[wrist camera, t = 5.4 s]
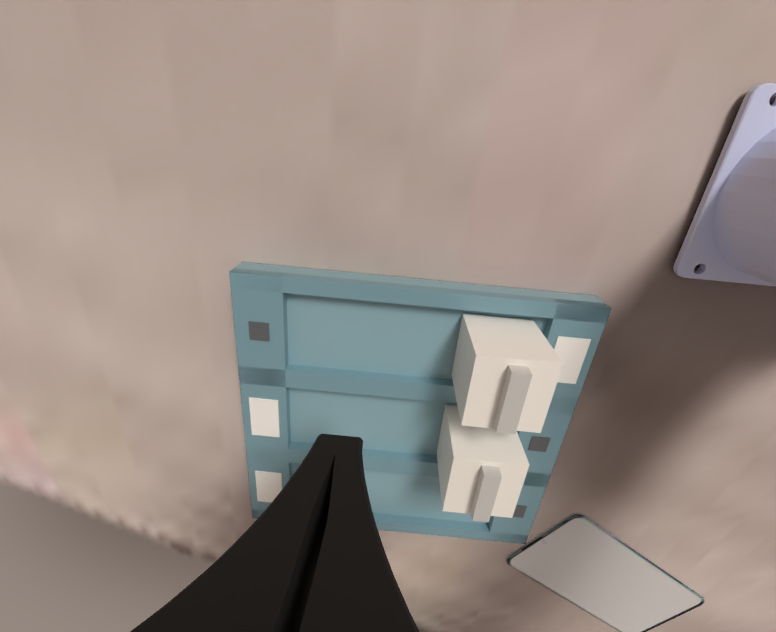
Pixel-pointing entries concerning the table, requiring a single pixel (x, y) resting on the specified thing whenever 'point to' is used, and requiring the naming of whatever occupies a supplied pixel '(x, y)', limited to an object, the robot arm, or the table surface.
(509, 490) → the tab
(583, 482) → the table surface
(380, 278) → the switch board
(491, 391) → the tab
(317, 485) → the robot arm
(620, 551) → the smartphone
